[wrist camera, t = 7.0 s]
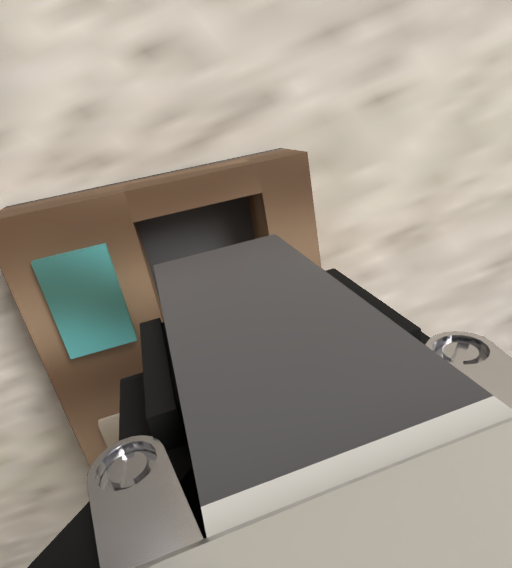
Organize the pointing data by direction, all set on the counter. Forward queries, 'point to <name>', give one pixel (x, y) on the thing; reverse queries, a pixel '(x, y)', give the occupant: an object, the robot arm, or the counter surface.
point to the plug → (298, 380)
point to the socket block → (134, 265)
